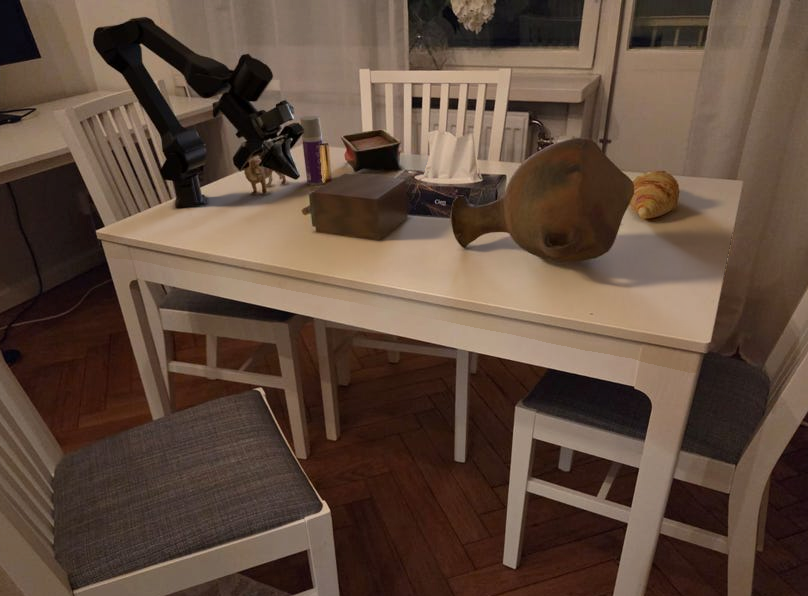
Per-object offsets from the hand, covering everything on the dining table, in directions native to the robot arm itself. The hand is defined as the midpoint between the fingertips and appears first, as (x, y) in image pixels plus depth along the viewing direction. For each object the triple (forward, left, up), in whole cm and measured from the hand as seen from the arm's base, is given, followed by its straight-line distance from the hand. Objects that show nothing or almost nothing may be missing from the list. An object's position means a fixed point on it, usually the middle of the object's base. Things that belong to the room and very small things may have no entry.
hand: (298, 178), depth 128 cm
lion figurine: (-22, -6, -8) cm, 24 cm away
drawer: (+7, +8, -8) cm, 13 cm away
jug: (+34, +37, -8) cm, 51 cm away
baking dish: (-32, +22, -8) cm, 40 cm away
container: (-24, +6, -8) cm, 26 cm away
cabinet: (+9, +11, -8) cm, 16 cm away
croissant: (+20, +68, -8) cm, 72 cm away
